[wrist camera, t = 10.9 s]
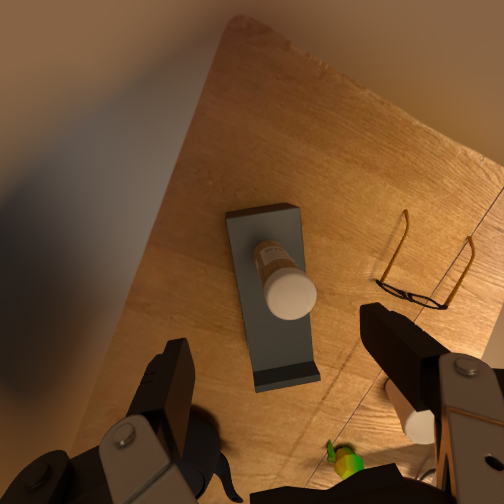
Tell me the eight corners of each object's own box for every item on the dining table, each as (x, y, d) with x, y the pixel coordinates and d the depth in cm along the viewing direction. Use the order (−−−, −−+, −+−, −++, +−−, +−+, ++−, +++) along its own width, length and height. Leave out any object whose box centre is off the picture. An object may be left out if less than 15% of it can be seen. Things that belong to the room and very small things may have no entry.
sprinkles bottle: (248, 265, 35) (259, 315, 22) (258, 235, 33) (276, 268, 21) (278, 273, 35) (307, 326, 22) (289, 243, 34) (325, 281, 21)
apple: (372, 491, 51) (336, 484, 49) (351, 484, 56) (317, 476, 54) (369, 448, 55) (335, 439, 53) (350, 444, 60) (318, 436, 58)
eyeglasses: (366, 282, 46) (378, 291, 42) (404, 208, 43) (421, 211, 39) (428, 304, 48) (445, 314, 45) (468, 235, 45) (491, 240, 41)
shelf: (226, 211, 40) (225, 222, 30) (286, 202, 41) (306, 209, 30) (249, 346, 48) (255, 393, 37) (300, 337, 48) (320, 380, 37)
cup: (375, 368, 52) (406, 407, 43) (421, 360, 52) (461, 397, 43) (375, 405, 54) (404, 449, 46) (418, 397, 55) (455, 439, 46)
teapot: (115, 442, 51) (81, 520, 39) (142, 385, 48) (114, 452, 36) (225, 471, 56) (224, 548, 44) (256, 421, 53) (264, 490, 41)
